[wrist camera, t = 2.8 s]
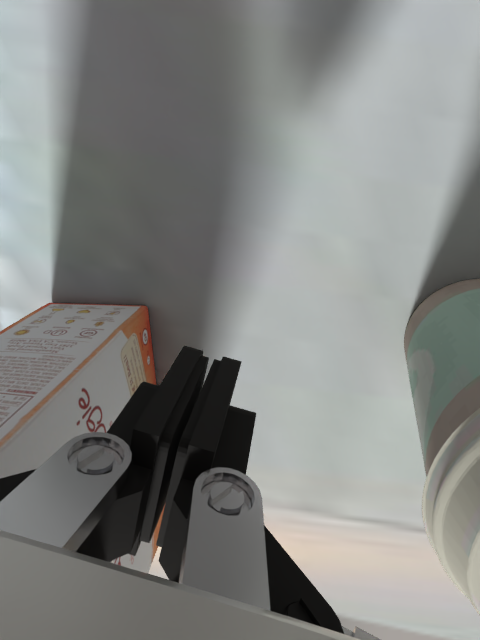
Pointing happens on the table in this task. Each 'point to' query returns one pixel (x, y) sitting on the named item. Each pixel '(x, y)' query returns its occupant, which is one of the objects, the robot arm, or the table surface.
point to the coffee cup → (449, 425)
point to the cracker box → (71, 384)
